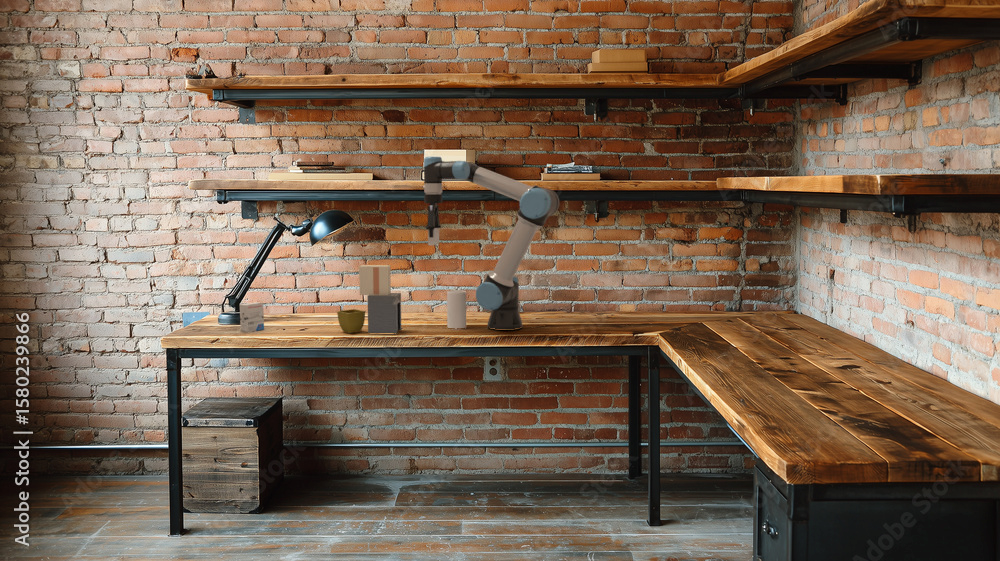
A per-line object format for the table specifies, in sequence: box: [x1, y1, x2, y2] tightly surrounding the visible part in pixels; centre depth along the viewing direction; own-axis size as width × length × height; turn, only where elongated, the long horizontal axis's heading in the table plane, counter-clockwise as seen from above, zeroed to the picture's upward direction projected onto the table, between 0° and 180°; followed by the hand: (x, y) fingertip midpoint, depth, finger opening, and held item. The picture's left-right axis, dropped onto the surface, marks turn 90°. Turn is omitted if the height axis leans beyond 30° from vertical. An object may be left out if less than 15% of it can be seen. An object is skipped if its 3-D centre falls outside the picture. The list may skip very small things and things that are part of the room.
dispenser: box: [367, 292, 402, 335], centre depth 309 cm, size 12×10×16 cm
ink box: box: [239, 301, 265, 333], centre depth 312 cm, size 9×5×12 cm, turn 141°
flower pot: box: [336, 308, 366, 334], centre depth 309 cm, size 9×9×9 cm
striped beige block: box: [358, 264, 392, 296], centre depth 307 cm, size 12×5×12 cm, turn 87°
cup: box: [446, 289, 467, 330], centre depth 319 cm, size 8×8×16 cm
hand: (433, 244), depth 312 cm, fingers open, 13 cm apart
